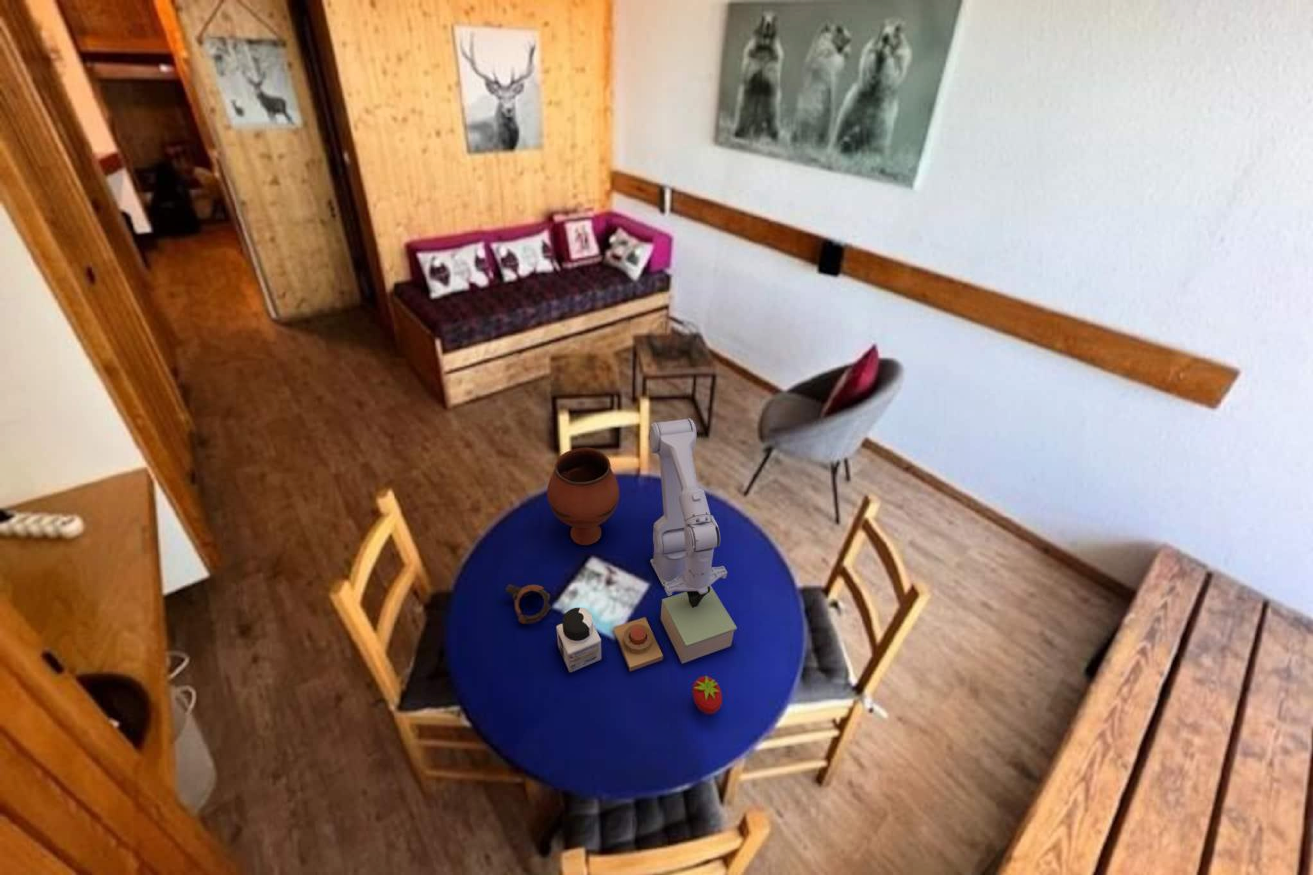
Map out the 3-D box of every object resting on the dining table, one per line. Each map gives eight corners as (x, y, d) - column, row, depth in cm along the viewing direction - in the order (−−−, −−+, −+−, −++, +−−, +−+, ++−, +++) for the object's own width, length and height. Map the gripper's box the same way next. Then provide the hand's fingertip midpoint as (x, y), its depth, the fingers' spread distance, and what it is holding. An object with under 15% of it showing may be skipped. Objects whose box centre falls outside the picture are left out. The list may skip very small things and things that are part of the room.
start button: (627, 633, 132) (627, 628, 131) (642, 628, 133) (642, 624, 132) (633, 646, 129) (633, 641, 128) (648, 641, 131) (648, 636, 130)
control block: (613, 631, 136) (613, 622, 134) (645, 621, 138) (645, 612, 136) (629, 671, 128) (629, 662, 126) (662, 659, 130) (663, 651, 128)
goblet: (582, 499, 171) (579, 432, 156) (633, 529, 163) (635, 460, 148) (536, 537, 158) (527, 468, 143) (589, 571, 150) (585, 501, 135)
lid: (736, 629, 129) (737, 627, 129) (685, 647, 125) (686, 645, 124) (709, 586, 139) (709, 584, 139) (661, 601, 135) (661, 599, 135)
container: (569, 673, 127) (566, 639, 119) (557, 645, 132) (554, 610, 124) (602, 659, 130) (601, 625, 122) (589, 632, 135) (587, 597, 127)
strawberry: (697, 728, 118) (702, 703, 112) (685, 695, 124) (689, 669, 118) (724, 721, 120) (730, 696, 114) (711, 688, 126) (716, 662, 120)
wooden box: (731, 646, 134) (734, 628, 130) (681, 663, 130) (684, 646, 126) (707, 603, 143) (709, 586, 139) (660, 619, 139) (661, 601, 135)
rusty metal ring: (559, 596, 144) (557, 592, 136) (540, 633, 140) (538, 630, 132) (515, 576, 144) (512, 570, 137) (496, 611, 141) (491, 608, 133)
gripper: (675, 588, 120) (671, 627, 128) (736, 569, 125) (728, 607, 133) (662, 563, 125) (659, 602, 134) (721, 546, 130) (715, 584, 138)
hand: (693, 603), depth 134 cm, fingers closed
